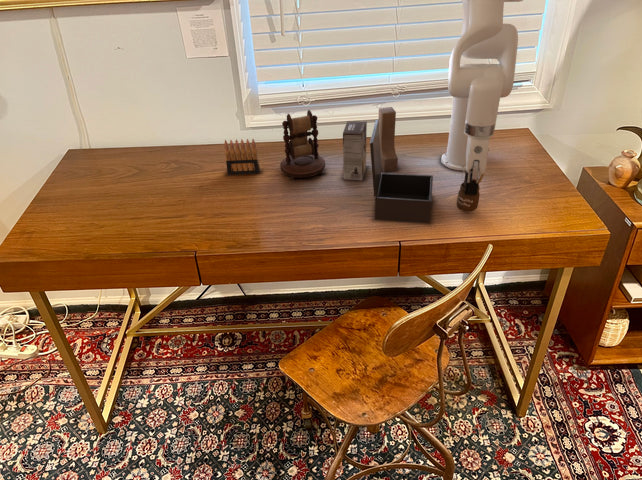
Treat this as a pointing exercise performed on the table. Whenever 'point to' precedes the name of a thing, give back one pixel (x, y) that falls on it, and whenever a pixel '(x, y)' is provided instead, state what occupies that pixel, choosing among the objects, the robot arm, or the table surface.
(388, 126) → the wooden block
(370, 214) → the table surface
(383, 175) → the black box
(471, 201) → the utensil holder
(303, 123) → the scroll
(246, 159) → the ammunition clip
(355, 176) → the coffee box
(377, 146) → the lid
